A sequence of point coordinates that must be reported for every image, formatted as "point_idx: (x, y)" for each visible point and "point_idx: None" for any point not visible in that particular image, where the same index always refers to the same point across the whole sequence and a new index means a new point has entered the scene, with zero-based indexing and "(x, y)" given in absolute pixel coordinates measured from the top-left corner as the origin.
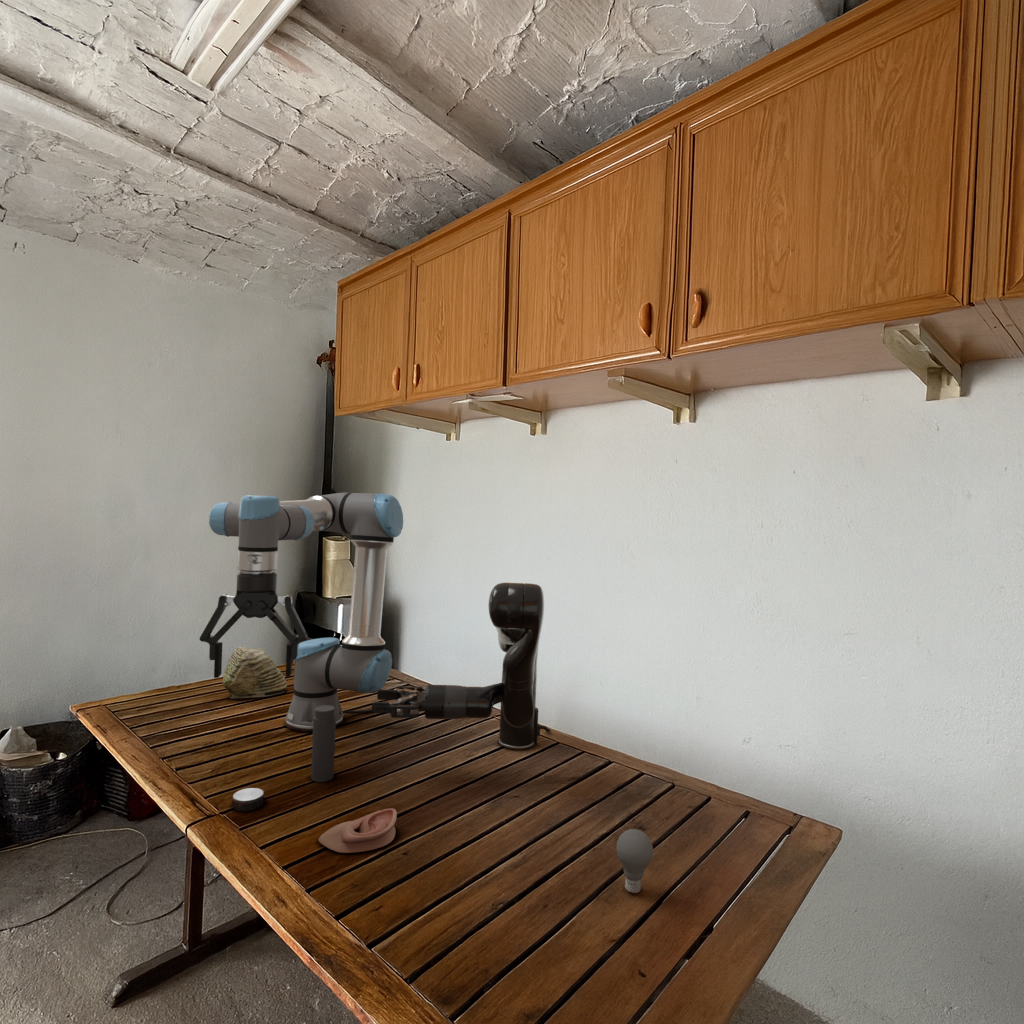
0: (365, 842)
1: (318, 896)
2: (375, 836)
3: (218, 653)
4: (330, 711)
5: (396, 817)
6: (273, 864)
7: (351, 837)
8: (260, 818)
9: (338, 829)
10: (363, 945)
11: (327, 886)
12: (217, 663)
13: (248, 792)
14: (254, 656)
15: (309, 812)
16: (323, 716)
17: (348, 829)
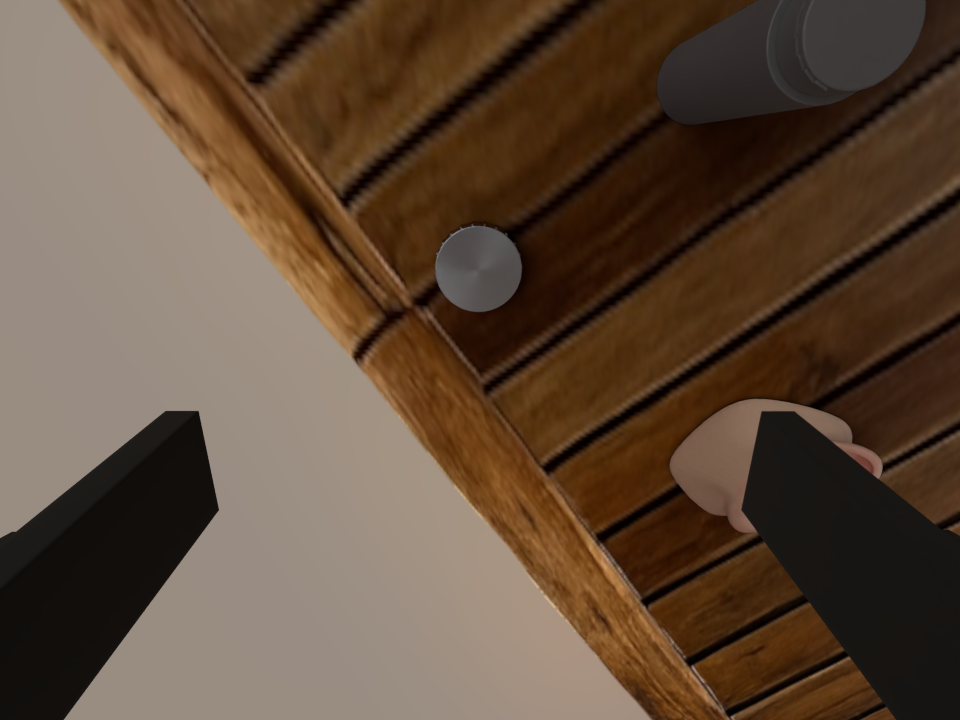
0: None
1: (662, 616)
2: None
3: (77, 697)
4: (884, 76)
5: None
6: (578, 526)
7: (749, 531)
8: (525, 344)
9: (722, 481)
10: (721, 711)
11: (678, 595)
12: (143, 601)
13: (476, 258)
14: None
15: (649, 326)
16: (827, 95)
17: None
